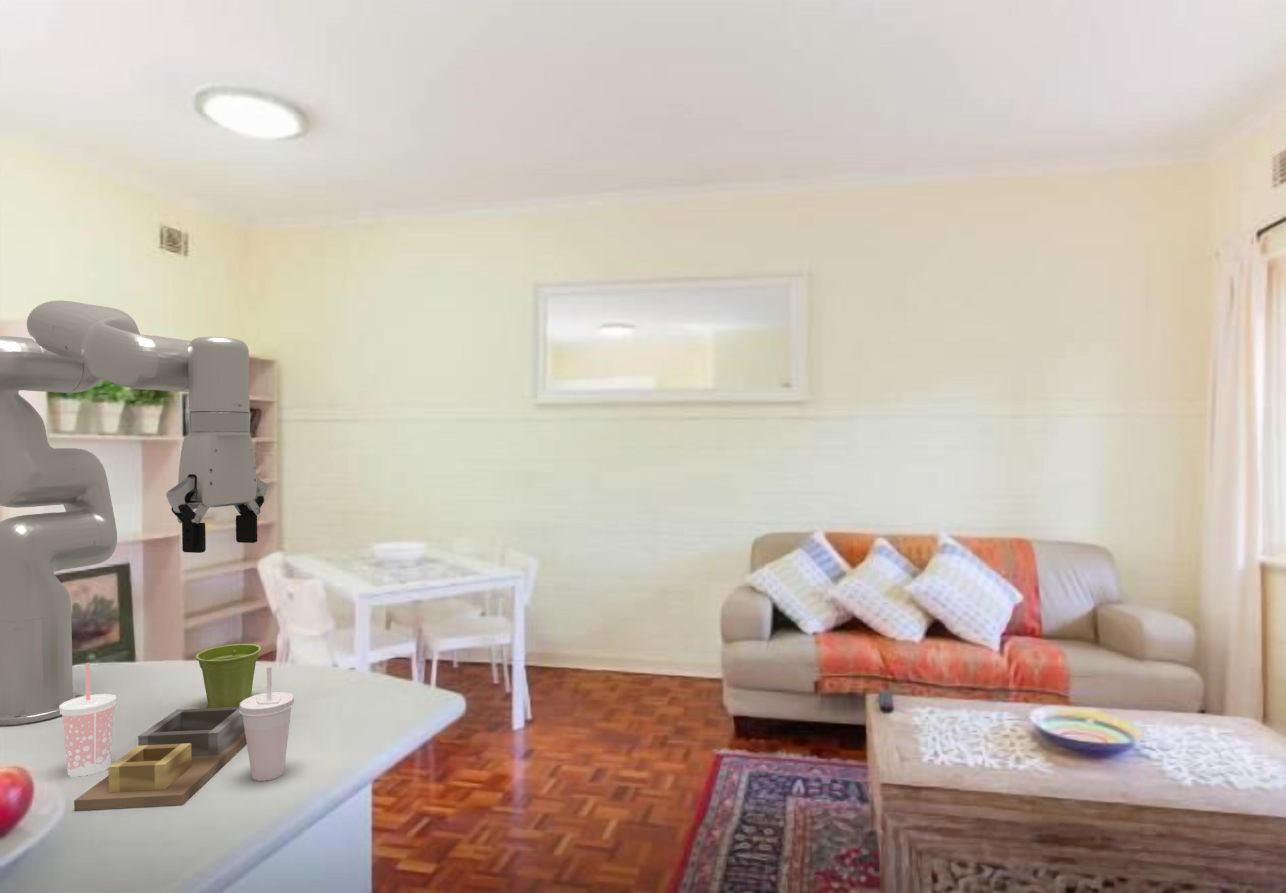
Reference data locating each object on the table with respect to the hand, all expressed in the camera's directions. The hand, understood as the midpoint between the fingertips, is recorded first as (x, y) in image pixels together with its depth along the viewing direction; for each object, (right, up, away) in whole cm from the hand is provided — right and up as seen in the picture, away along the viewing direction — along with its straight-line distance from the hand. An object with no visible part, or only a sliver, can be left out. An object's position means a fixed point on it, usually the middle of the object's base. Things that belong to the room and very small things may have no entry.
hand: (221, 547), depth 107 cm
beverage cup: (-14, -29, -7) cm, 32 cm away
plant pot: (-8, -28, +17) cm, 34 cm away
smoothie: (+11, -28, -9) cm, 32 cm away
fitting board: (-2, -28, -7) cm, 29 cm away
